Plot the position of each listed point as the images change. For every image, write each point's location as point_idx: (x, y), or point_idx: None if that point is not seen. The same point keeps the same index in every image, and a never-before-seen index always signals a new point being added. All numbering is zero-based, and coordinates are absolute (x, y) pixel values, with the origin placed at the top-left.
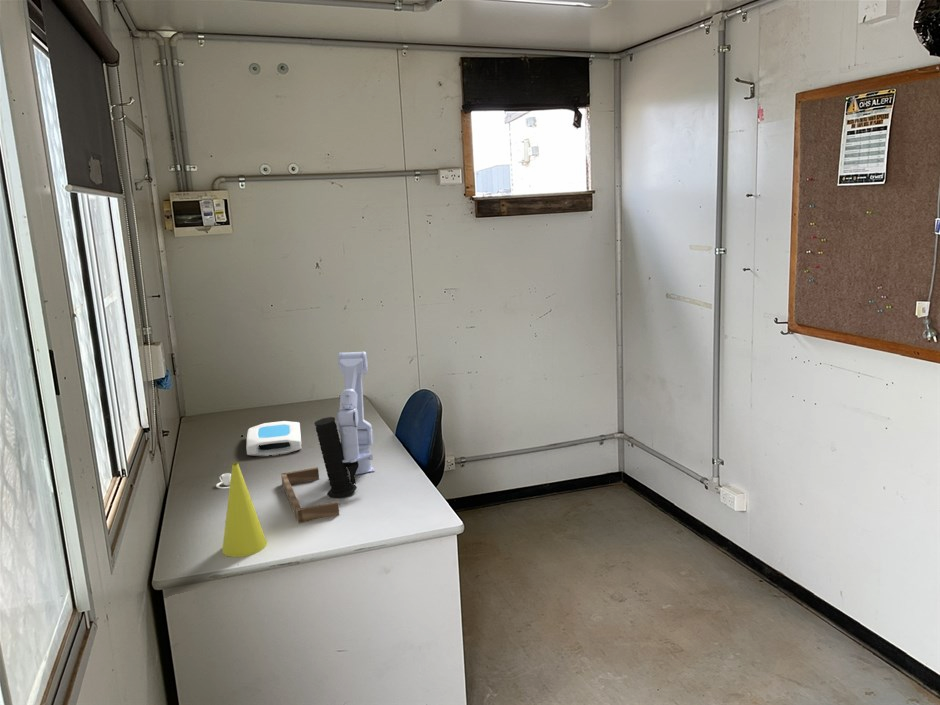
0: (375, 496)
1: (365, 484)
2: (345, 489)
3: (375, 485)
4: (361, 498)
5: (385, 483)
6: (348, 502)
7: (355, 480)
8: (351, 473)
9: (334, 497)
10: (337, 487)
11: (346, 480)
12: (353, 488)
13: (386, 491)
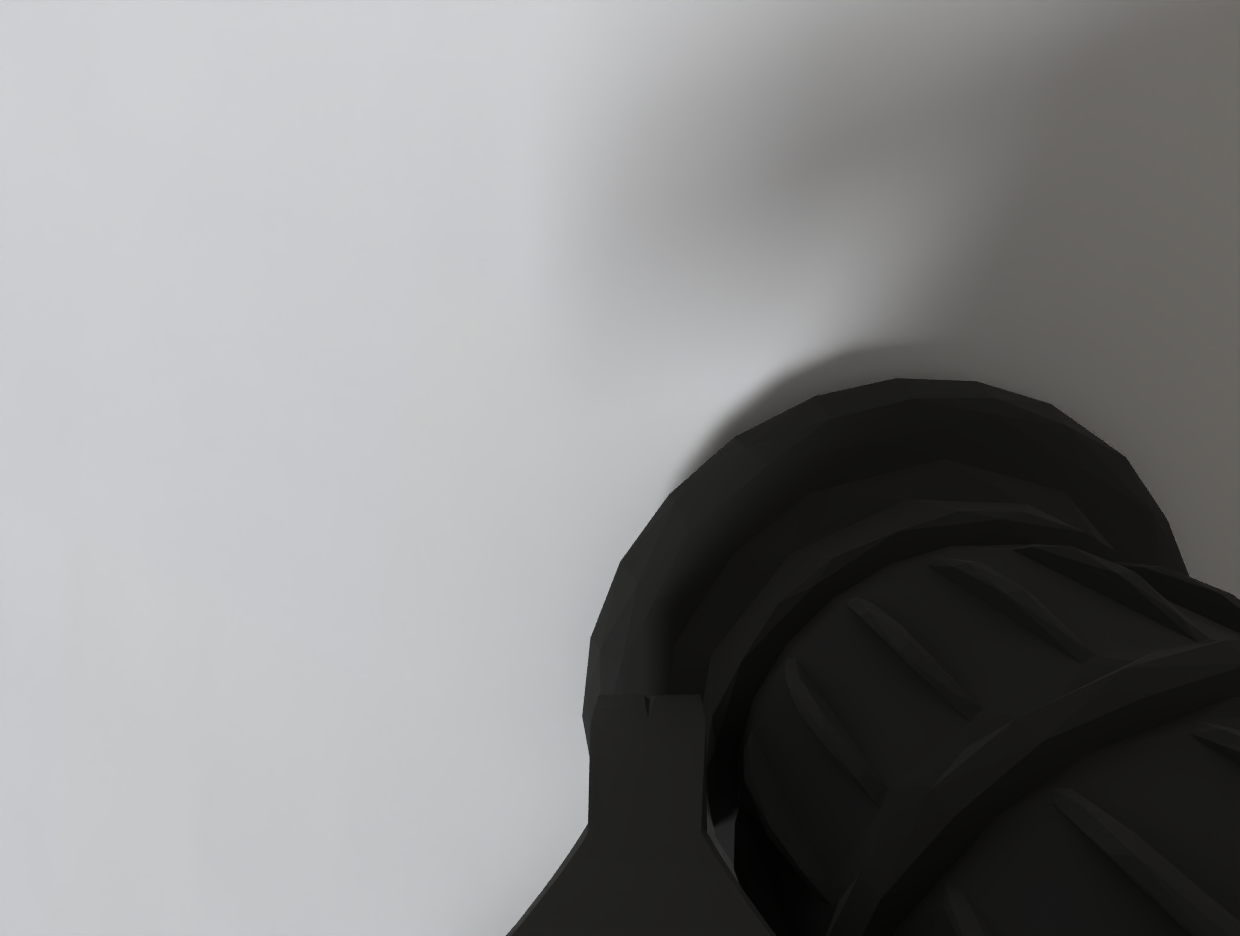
0: (281, 147)
1: (389, 844)
2: (905, 518)
3: (219, 719)
4: (586, 176)
5: (32, 724)
6: (907, 69)
7: (591, 730)
8: (731, 918)
9: (1123, 458)
10: (1168, 571)
11: (917, 705)
12: (681, 569)
13: (35, 322)
